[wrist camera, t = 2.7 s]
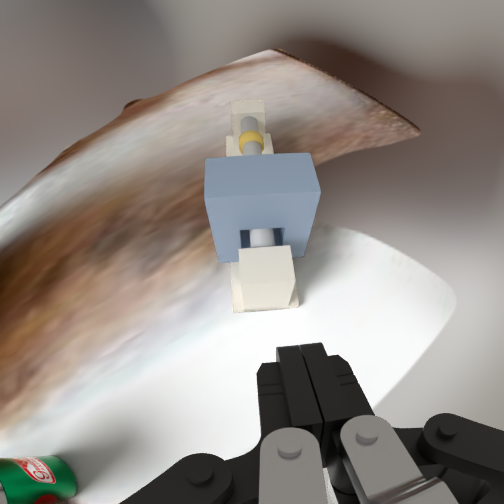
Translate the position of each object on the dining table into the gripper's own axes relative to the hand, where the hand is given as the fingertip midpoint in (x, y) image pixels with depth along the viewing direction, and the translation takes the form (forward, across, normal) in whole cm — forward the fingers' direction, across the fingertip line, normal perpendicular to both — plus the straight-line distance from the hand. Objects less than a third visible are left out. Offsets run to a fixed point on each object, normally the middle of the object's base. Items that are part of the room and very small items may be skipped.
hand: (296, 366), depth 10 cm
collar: (+20, 0, +1) cm, 20 cm away
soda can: (+4, +22, +19) cm, 29 cm away
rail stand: (+25, 0, -2) cm, 25 cm away
